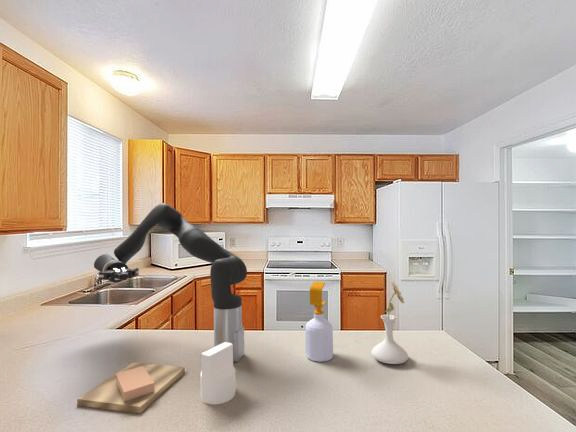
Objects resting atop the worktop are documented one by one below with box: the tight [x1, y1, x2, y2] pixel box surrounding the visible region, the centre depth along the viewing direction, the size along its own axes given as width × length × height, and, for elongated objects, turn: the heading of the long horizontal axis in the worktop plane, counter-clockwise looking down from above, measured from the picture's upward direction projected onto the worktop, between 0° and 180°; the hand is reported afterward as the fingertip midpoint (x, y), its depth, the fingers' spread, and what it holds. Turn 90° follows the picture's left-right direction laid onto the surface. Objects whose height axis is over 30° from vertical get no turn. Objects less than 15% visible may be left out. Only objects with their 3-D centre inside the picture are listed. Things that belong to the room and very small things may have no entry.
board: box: [76, 362, 186, 414], centre depth 84 cm, size 18×20×2 cm
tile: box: [115, 366, 154, 402], centre depth 81 cm, size 3×7×12 cm
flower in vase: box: [371, 280, 409, 365], centre depth 99 cm, size 13×11×25 cm
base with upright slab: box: [199, 342, 237, 405], centre depth 80 cm, size 9×9×12 cm
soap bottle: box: [305, 281, 334, 363], centre depth 102 cm, size 9×9×25 cm
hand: (124, 277), depth 99 cm, fingers closed
